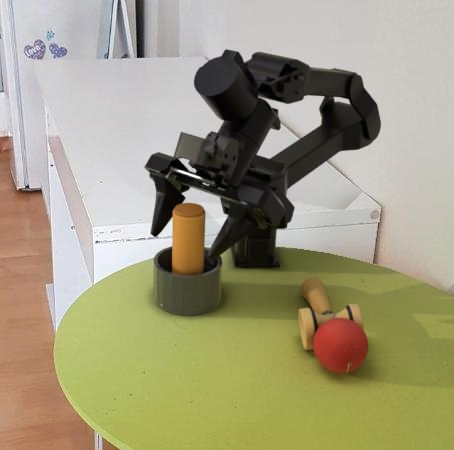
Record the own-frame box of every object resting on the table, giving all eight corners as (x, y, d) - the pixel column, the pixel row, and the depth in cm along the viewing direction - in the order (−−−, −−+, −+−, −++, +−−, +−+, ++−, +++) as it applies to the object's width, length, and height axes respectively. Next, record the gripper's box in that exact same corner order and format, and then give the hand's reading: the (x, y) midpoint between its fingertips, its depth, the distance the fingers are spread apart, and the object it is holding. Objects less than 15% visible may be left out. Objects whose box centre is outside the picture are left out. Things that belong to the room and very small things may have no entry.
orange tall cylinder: (179, 283, 99) (180, 199, 94) (207, 289, 98) (210, 205, 92) (166, 297, 95) (167, 212, 90) (196, 304, 94) (198, 217, 89)
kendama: (275, 308, 97) (304, 377, 80) (286, 263, 96) (319, 324, 79) (332, 316, 99) (373, 386, 81) (344, 272, 97) (388, 334, 80)
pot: (153, 281, 100) (153, 244, 98) (218, 280, 101) (219, 244, 99) (153, 316, 93) (153, 277, 90) (223, 315, 93) (224, 277, 91)
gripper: (154, 90, 94) (92, 197, 91) (278, 123, 84) (213, 244, 81) (192, 135, 103) (137, 234, 100) (309, 170, 93) (251, 281, 90)
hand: (180, 246), depth 92 cm, fingers open, 9 cm apart
